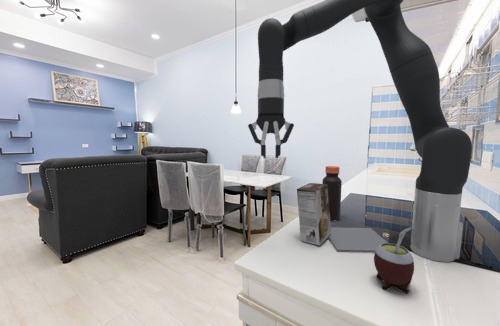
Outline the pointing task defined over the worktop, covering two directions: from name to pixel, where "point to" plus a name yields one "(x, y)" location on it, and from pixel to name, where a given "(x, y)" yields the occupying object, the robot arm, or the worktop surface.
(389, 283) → the mate gourd
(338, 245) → the mat
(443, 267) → the worktop surface
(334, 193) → the bottle
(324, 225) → the coffee box
